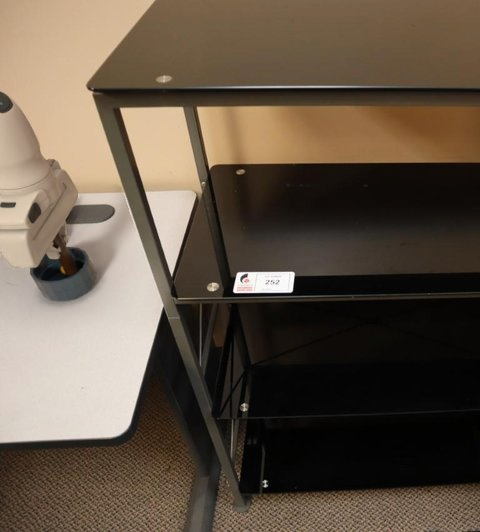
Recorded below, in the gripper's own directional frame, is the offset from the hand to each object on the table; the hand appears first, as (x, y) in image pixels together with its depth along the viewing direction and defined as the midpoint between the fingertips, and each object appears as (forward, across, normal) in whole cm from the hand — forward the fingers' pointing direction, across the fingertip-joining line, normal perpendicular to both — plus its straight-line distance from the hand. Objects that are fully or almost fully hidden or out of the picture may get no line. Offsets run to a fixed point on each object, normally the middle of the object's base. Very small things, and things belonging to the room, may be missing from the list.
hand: (59, 249), depth 94 cm
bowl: (+8, +1, -1) cm, 9 cm away
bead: (+7, -2, -2) cm, 7 cm away
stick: (+7, 0, 0) cm, 7 cm away
